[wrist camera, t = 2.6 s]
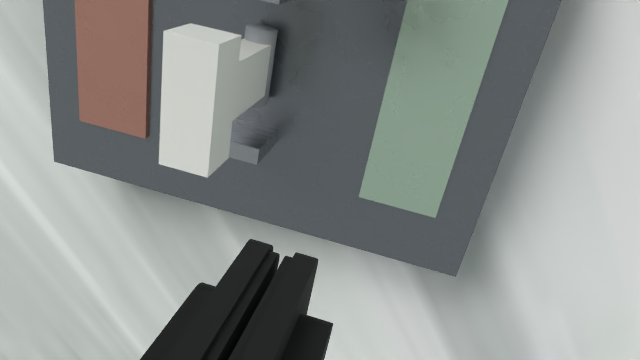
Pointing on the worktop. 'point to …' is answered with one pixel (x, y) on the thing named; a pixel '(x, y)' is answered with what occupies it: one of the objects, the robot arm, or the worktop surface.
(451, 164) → the breaker panel
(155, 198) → the worktop surface
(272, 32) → the toggle lever
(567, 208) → the worktop surface
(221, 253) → the worktop surface
